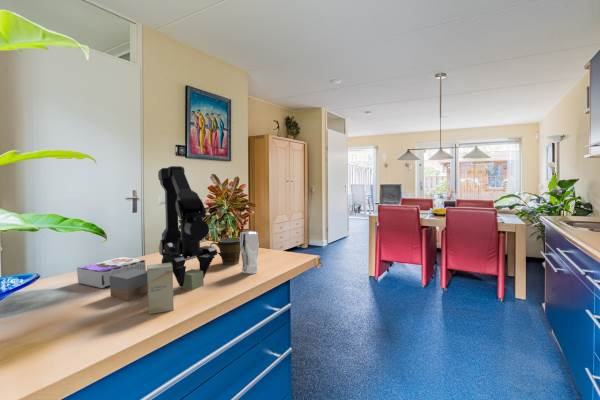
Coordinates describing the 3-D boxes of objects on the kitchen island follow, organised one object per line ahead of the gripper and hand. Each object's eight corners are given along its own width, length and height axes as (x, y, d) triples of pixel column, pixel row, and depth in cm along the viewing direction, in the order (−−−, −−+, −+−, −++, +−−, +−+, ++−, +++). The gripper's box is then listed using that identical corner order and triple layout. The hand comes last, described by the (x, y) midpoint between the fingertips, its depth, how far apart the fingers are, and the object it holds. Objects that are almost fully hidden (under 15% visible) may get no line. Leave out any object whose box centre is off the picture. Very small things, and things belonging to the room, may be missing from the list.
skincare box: (148, 315, 80) (146, 269, 80) (148, 308, 84) (146, 264, 83) (174, 310, 83) (172, 265, 82) (173, 304, 87) (171, 261, 86)
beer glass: (263, 270, 118) (262, 231, 117) (251, 275, 112) (249, 234, 111) (249, 268, 122) (248, 230, 121) (236, 273, 116) (235, 233, 115)
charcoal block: (134, 279, 100) (133, 268, 100) (151, 282, 97) (151, 271, 97) (110, 287, 93) (109, 275, 93) (128, 290, 90) (127, 278, 89)
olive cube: (192, 283, 105) (191, 269, 105) (203, 285, 103) (203, 270, 102) (180, 288, 100) (180, 273, 100) (192, 290, 98) (191, 275, 98)
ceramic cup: (241, 259, 136) (240, 236, 135) (244, 265, 126) (243, 240, 126) (210, 262, 132) (209, 239, 131) (211, 268, 123) (210, 243, 122)
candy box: (76, 267, 106) (121, 256, 121) (77, 284, 106) (122, 270, 121) (101, 271, 100) (146, 259, 115) (102, 289, 101) (146, 274, 115)
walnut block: (135, 289, 101) (134, 279, 100) (152, 293, 97) (151, 282, 97) (110, 298, 93) (110, 287, 93) (128, 302, 90) (127, 290, 90)
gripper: (193, 229, 112) (195, 271, 113) (148, 238, 96) (150, 287, 97) (217, 230, 107) (218, 275, 108) (173, 240, 91) (176, 292, 92)
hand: (192, 282), depth 101 cm, fingers open, 9 cm apart
